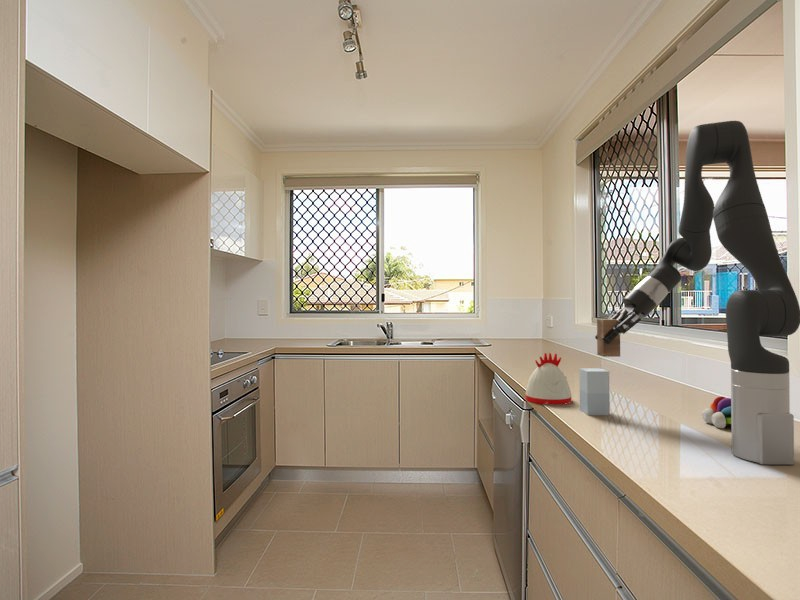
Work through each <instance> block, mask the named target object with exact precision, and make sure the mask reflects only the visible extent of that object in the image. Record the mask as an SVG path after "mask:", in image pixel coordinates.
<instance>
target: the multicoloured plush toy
mask: <svg viewBox="0 0 800 600" xmlns="http://www.w3.org/2000/svg"><path fill="white" fill-rule="evenodd" d="M701 418H702V419H703V421H704V422H705V423H707V424H709V425H714V426H715V428H717V429H721V430H722V429H725V428H726V426H727V425H731V397H726V396H717V397H716V398H714V399H713V402H712V403H710V405H709V407H707V408H705V409H703V411H702V414H701Z"/></svg>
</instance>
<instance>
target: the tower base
mask: <svg viewBox="0 0 800 600" xmlns="http://www.w3.org/2000/svg"><path fill="white" fill-rule="evenodd" d="M610 395H611V393H610V392H609V393H586V392H584V391H582V390H580V389H579V411H580V410H581V411H580V412H582V413H583V412H584V414H585V415H587V416H610V415H611V414H610V413H611V412H610V411H611V410H610V403H611V402H610V398H611V397H610Z"/></svg>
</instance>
